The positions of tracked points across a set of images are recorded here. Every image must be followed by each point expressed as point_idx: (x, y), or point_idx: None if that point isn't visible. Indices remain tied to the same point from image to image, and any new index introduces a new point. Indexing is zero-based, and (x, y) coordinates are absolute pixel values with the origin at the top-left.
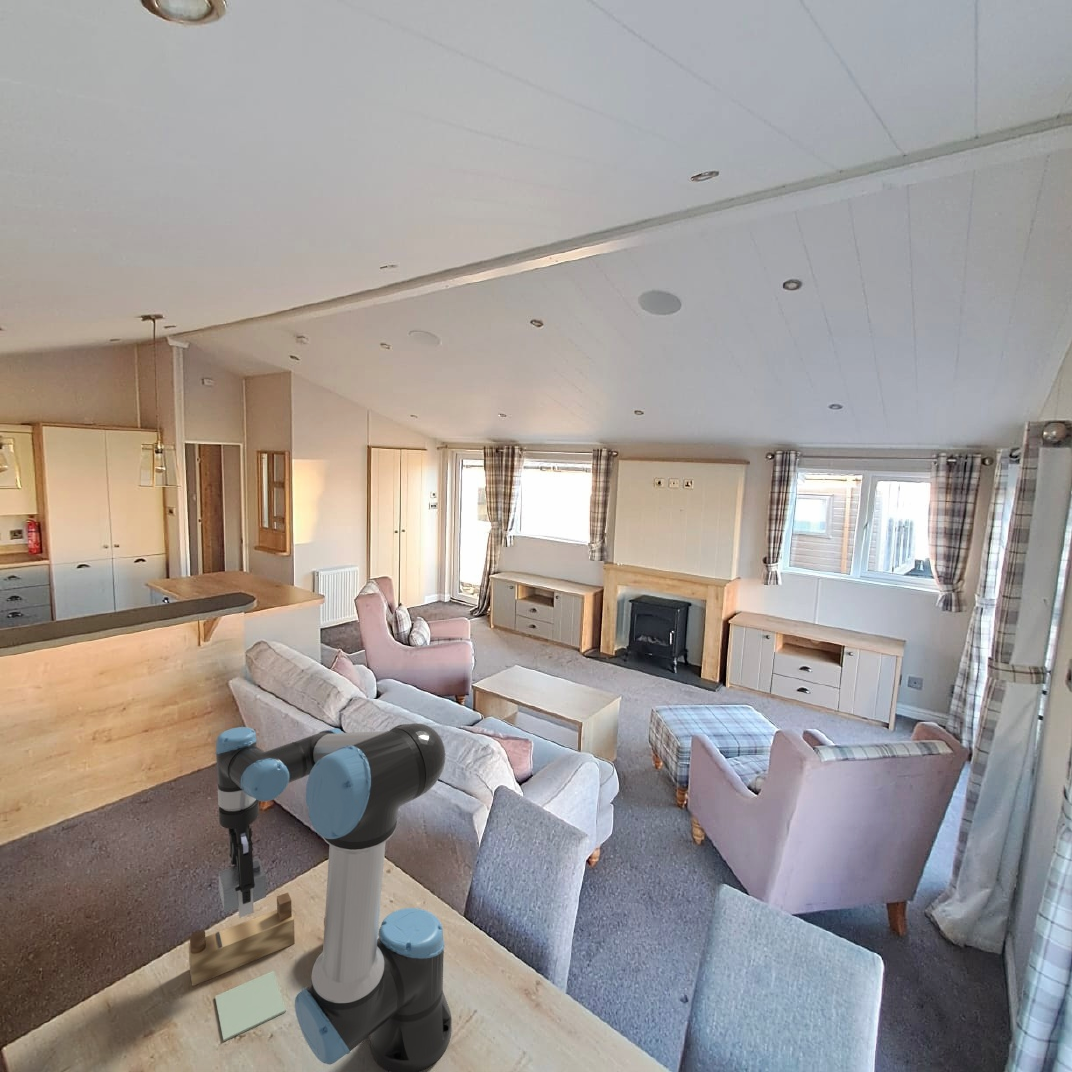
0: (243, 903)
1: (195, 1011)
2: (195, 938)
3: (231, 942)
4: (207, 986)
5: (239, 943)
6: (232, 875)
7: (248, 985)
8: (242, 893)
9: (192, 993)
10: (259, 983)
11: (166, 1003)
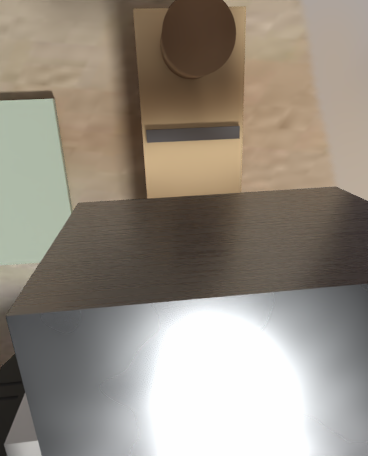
0: (8, 360)
1: (23, 34)
2: (179, 21)
3: (152, 177)
4: (114, 80)
5: None
6: (291, 415)
7: (51, 193)
8: (6, 423)
9: (107, 31)
10: (47, 221)
11: None
